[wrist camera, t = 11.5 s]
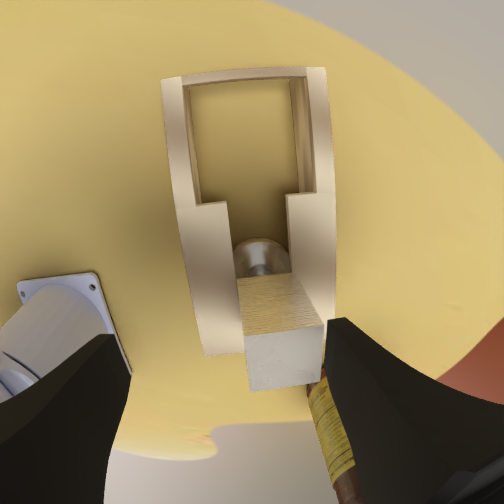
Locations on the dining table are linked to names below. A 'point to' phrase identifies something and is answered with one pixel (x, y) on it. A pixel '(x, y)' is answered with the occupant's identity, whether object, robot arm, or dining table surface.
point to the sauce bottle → (334, 442)
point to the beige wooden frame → (216, 215)
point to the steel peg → (276, 318)
